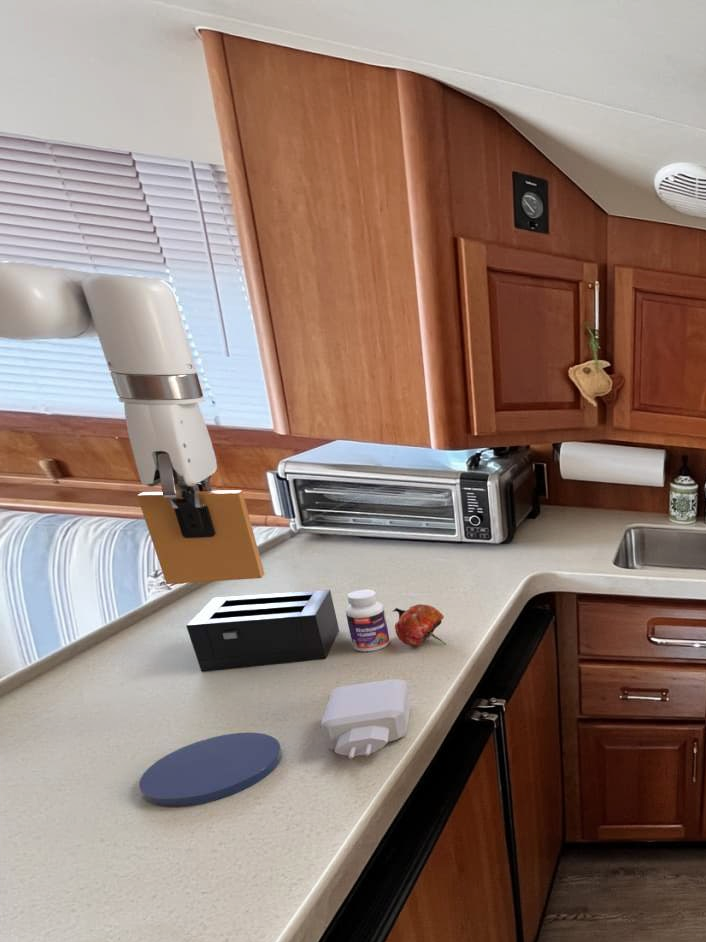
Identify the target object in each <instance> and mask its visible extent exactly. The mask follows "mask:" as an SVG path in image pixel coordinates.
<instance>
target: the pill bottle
mask: <svg viewBox="0 0 706 942" xmlns="http://www.w3.org/2000/svg"><path fill="white" fill-rule="evenodd" d="M347 601H348V606H347V607H346V609H345V617H346V621H347V627H348V630H349V636H350V640H351V644H352V648H353V649H354V650H355V651H359V652H365V653H366V652H367V651H368V652H375V651H379V650H381V649H384V648H386V647H387V646H388V645H389V644H390V634H389V631H388V624H387V618H386V613H385V607H384V605H383V604H382V603H381V602H379V601H378V596H377V593H376V591H375V590H373V589H358V590H354V591H351V592H349V593H348V594H347Z"/></svg>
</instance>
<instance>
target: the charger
mask: <svg viewBox="0 0 706 942" xmlns="http://www.w3.org/2000/svg"><path fill="white" fill-rule="evenodd" d="M411 701H412V699H411V694H410V688H409V683H408V681H407V680H405V679H401V678H393V679H385V680H378V681H371V682H364V683H358V684H357V683H356V684H349V685H343V686H338V687H336V688H334V689H333V690H331V692H330V695H329V699H328V701H327V705H326V707H325V711H324V714H323V717H322V720H321V723H320V730H321V735H322V738H323V742H324V746H325V747H326V748H327V749H329V750H334V751H333V752H334V753H336V754H338V755H341V756H348V759H353V758H354V757H357V756H362V755H365V756H370V754H373V753H375V752H377V751H379V750H380V749H382V748H384V747H385V746H386V745H387V744H388V742H393V741H397V740H399V739H401V738H403V737H405V736H406V735H408V728H409V719H410V711H411V710H410V709H411Z"/></svg>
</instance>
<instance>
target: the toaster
mask: <svg viewBox="0 0 706 942" xmlns="http://www.w3.org/2000/svg"><path fill="white" fill-rule="evenodd" d="M186 630H187V633H188V635H189V639H190V642H191V643H192V644H191V645H192V647H193V650H194V651H193V652H194V654H195V657H196V660H197V663H198V666H199V669H200V672H202V673H204V672H213V671H222V670H223V671H224V670H231V669H241V668H250V667H259V666H260V667H262V666H270V665H279V664H289V663H290V664H291V663H300V662H308V661H318V660H326V659H327V657H328V655H329V653H330V651H331V649H332V647H333V644H334V642H335V641H336V638H337V636H338V635H339V632H340V627H339V623H338V619H337V614H336V610H335V605H334V600H333V596H332V592H331V589H323V590H321V589H320V590H309V591H307V590H306V591H294V592H279V593H264V594H263V593H262V594H248V595H235V596H234V595H233V596H220V597H213V598H211V599H210V600H209V601H208V603H207V604H206V605H205V606H204V607H203V608H201V610H199V612H198V613H197V614H195V616H194V617H193V618H192V619H191V620H190V621H189V622H188V623H187V624H186Z"/></svg>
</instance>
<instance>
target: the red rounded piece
mask: <svg viewBox="0 0 706 942" xmlns="http://www.w3.org/2000/svg"><path fill="white" fill-rule="evenodd" d="M393 612H397V613H398V620H397V621H396V622H395V624H394V629H395V634H396V636H397V638H398V640H399V641H400V642H401V643H403V644H405V645H407V646H411V647H419V646H420V645H421V644H422V643H423V642H424V640H427V639H428V638H429V637H430V636H431V637H432V638H434V639H436V640H438V641H439V642H440V643H442V644H444V645H447V643H446V642H444V641H443V640H442V639H441V638H439V637H438V636H436V635H435V634H434V632H435V630H436V629H437V628H438V627H439V626H440V625H441V624H442V623H443V622H442V621H443V620H444V618H445V617H444V615H443V613H442V612H440V610H438V609H437V608H435V607H434V606H432V605H428V604H421V603H420V604H419V603H418V604H415V605H412V606H410V607H409V608H408V609H407V610H405V609H400V608H398V607H395V608H394V609H393V610H392V613H393Z"/></svg>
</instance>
